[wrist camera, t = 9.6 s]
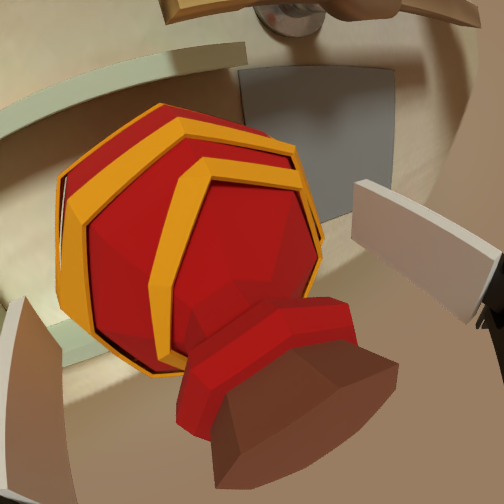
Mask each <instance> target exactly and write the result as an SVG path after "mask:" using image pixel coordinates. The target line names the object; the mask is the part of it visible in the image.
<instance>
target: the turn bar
mask: <svg viewBox="0 0 504 504" xmlns="http://www.w3.org/2000/svg"><path fill="white" fill-rule="evenodd" d="M304 3H316V4H319V5H320V6H321V7H322V8H323V9H324V10H325V11H326V12H327V13H328V14H330V15H331V16H333V17H334V18H336V19H339V20H341V21H347V22H352V21H361V20H373V19H388V18H392V17H394V16H395V15H396V14H397V13H398V12H399V11H401V12H407V13H412V14H417V15H421V16H426V17H430V18H434V19H438V20H442V21H445V22H449V23H452V24H456V25H459V26H467V27H475V28H481V23H480V18H479V12H478V7H477V6H475V5H474V4H472V3H470V2H468V1H466V0H159V4H160V7H161V11H162V14H163V18H164V21H165V25H169V24H173V23H176V22H180V21H185V20H189V19H193V18H198V17H203V16H208V15H213V14H219V13H225V12H231V11H238V10H240V9H242V8H244V7H252V6H263V5H276V4H304Z"/></svg>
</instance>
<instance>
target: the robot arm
mask: <svg viewBox="0 0 504 504" xmlns="http://www.w3.org/2000/svg"><path fill="white" fill-rule="evenodd" d="M351 239H352V240H353V241H355V242H356V243H358V244H359V245H361V246H362V247H364V248H365V249H366V250H368V251H369V252H371V253H372V254H374V255H375V256H376V257H378V258H379V259H381V260H382V261H383V262H385V263H386V264H388V265H389V266H390V267H392V268H393V269H394V270H396V271H397V272H399V273H400V274H402V275H403V276H404V277H405V278H407V279H408V280H409V281H411V282H412V283H413V284H415V285H416V286H417V287H419V288H420V289H421V290H423V291H424V292H425V293H427V294H428V295H429V296H430V297H432V298H433V299H434V300H435V301H437V302H438V303H439V304H441V305H442V306H443V307H444V308H446V309H447V310H448V311H449V312H451V313H452V314H453V315H454V316H456V317H457V318H458V319H459V320H460V321H462V322H463V323H464V324H465V325H466V324H467V323H468V322H469V321H470V320H471V319H472V318H473V317H474V316H475V315H476V313H477V311H478V309H479V307H480V305H481V302H483V303H484V304H485V306H484V308H483V310H482V312H481V314H480V316H479V318H478V320H477V322H476V329H479V327H480V325H481V323H482V321H483V320H484V319H485V321H484V323H483V325H482V329H489V332H490V335H491V338H492V341H493V345H494V348H495V352H496V355H497V359H498V362H499V366H500V370H501V374H502V379H503V383H504V254H503V253H502V252H501V251H500V250H498V249H497V248H495V247H494V246H492V245H490V244H489V243H487V242H486V241H484V240H482V239H481V238H479V237H478V236H476V235H474V234H473V233H471V232H469V231H467V230H466V229H464V228H462V227H461V226H459V225H457V224H455V223H454V222H452V221H450V220H448V219H446V218H445V217H443V216H441V215H439V214H437V213H436V212H433V211H432V210H430V209H428V208H426V207H424V206H422V205H420V204H418V203H416V202H414V201H412V200H410V199H408V198H406V197H404V196H402V195H400V194H398V193H396V192H394V191H392V190H390V189H388V188H386V187H383V186H381V185H379V184H377V183H375V182H372V181H370V180H368V179H365V180H361V181H357V182H354V196H353V216H352V232H351ZM0 504H78V503H77V499H76V495H75V490H74V485H73V481H72V475H71V469H70V464H69V457H68V450H67V443H66V433H65V423H64V410H63V389H62V348H61V347H60V345H59V344H58V343H57V341H56V340H55V339H54V337H53V336H52V335H51V333H50V332H49V331H48V329H47V328H46V326H45V325H44V323H43V322H42V321H41V319H40V318H39V316H38V315H37V313H36V312H35V310H34V309H33V307H32V306H31V304H30V302H29V301H28V299H27V298H26V296H23V297H21V298H19V299H16V300H14V301H12V302H10V303H9V307H8V310H7V313H6V317H5V320H4V324H3V328H2V332H1V336H0Z"/></svg>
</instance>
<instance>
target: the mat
mask: <svg viewBox="0 0 504 504" xmlns="http://www.w3.org/2000/svg"><path fill="white" fill-rule="evenodd" d="M238 75H239V83H240V91H241V99H242V107H243V114H244V122H245V126H247V127H250V128H253V129H257V130H260V131H263V132H264V133H266V134H267V135H269V136H270V137H272V138H274V139H276V140H278V141H282V142H285V143H288V144H292V145H295V146H296V149H297V152H298V155H299V157H300V160H301V163H302V166H303V169H304V172H305V175H306V178H307V181H308V184H309V188H310V191H311V194H312V197H313V200H314V203H315V207H316V210H317V213H318V216H319V220H320V223H322V222H325V221H327V220H330V219H333V218H335V217H338V216H341V215H343V214H346V213H349V212H352V211H353V196H354V182H357V181H361V180H365V179H368V180H370V181H372V182H375V183H377V184H379V185H381V186H383V187H386V188H388V189H390V190H391V182H392V169H393V154H394V132H395V80H394V70H388V69H378V68H366V67H350V66H283V67H267V68H255V69H245V70H238ZM314 224H315V223H314Z"/></svg>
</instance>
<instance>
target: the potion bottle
mask: <svg viewBox="0 0 504 504" xmlns="http://www.w3.org/2000/svg"><path fill="white" fill-rule="evenodd" d="M66 177H67V181H66V189H65V198H64V208H63V221H62V239H61V273H60V256H59V239H60V223H61V210H62V200H63V192H64V184H65V178H66ZM314 223H315V224H314ZM324 239H325V237H324V233H323V230H322V227H321V223H320V220H319V216H318V213H317V210H316V207H315V203H314V200H313V197H312V194H311V191H310V188H309V184H308V181H307V178H306V175H305V172H304V169H303V166H302V163H301V160H300V157H299V155H298V152H297V149H296V146H295V145H292V144H288V143H285V142H282V141H278V140H276V139H274V138H272V137H270V136H269V135H267V134H266V133H264V132H263V131H260V130H257V129H253V128H250V127H247V126H244V125H241V124H237V123H234V122H231V121H227V120H224V119H220V118H217V117H213V116H210V115H206V114H203V113H199V112H195V111H191V110H188V109H184V108H180V107H176V106H171V105H167V104H163V103H158V104H157V105H155V106H154V107H152V108H150V109H149V110H147V111H145V112H144V113H142V114H141V115H139V116H138V117H136V118H134V119H133V120H131V121H130V122H128V123H127V124H125V125H124V126H123V127H121V128H120V129H118V130H117V131H115V132H114V133H112V134H111V135H110V136H108V137H107V138H105V139H104V140H103V141H101V142H100V143H99V144H97V145H96V146H95V147H93V148H92V149H91V150H89V151H88V152H87V153H86V154H84V155H83V156H82V157H80V158H79V159H78V160H77V161H76V162H74V163H73V164H72V165H71V166H69V167H68V168H67V169H66V170H65V171H63V172H62V173H61V174H60V175H59V176H58V177H57V188H56V211H55V243H56V294H57V298H58V302H59V305H60V309H61V310H62V311H64V312H65V313H66V314H67V315H68V316H69V317H70V318H71V319H72V320H73V321H75V322H76V323H77V324H78V325H79V326H80V327H81V328H83V329H84V330H85V331H86V332H87V333H88V334H90V335H91V336H92V337H93V338H94V339H96V340H97V341H98V342H99V343H101V344H102V345H103V346H104V347H106V348H107V349H108V350H109V351H111V352H112V353H113V354H115V355H116V356H117V357H119V358H120V359H122V360H123V361H125V362H126V363H128V364H129V365H131V366H133V367H134V368H136V369H137V370H139V371H141V372H142V373H144V374H146V375H147V376H149V377H151V378H162V377H174V376H183V378H182V383H181V386H180V391H179V395H178V399H177V403H176V423H177V424H178V425H179V426H181V427H182V428H184V429H185V430H186V431H188V432H189V433H191V434H192V435H194V436H196V437H199V438H202V439H205V440H207V441H210V442H211V448H212V459H213V470H214V480H215V488H216V489H253V488H256V487H259V486H262V485H265V484H267V483H270V482H273V481H275V480H278V479H280V478H283V477H285V476H288V475H290V474H292V473H295V472H297V471H299V470H302V469H304V468H306V467H307V466H309V465H311V464H312V463H314V462H315V461H317V460H318V459H320V458H321V457H323V456H324V455H326V454H327V453H329V452H330V451H332V450H333V449H335V448H336V447H338V446H339V445H340V444H342V443H343V442H344V441H346V440H347V439H348V438H350V437H351V436H352V435H354V434H355V433H356V432H358V431H359V430H360V429H361V428H362V427H363V426H364V425H365V424H366V423H367V421H368V420H369V419H370V418H371V417H372V416H373V415H374V414H375V413H376V412H377V411H378V409H379V408H380V407H381V406H382V405H383V404H384V403H385V401H386V400H387V399H388V398H389V397H390V396H391V394H392V393H393V392H394V391H395V389H396V383H397V375H398V367H399V364H398V363H396V362H394V361H391V360H389V359H386V358H384V357H382V356H379V355H377V354H375V353H372V352H370V351H368V350H366V349H363V348H361V347H359V346H358V344H357V339H356V334H355V330H354V325H353V322H352V317H351V313H350V309H349V305H348V304H347V303H345V302H342V301H339V300H336V299H333V298H331V297H313V298H307V296H308V294H309V291H310V289H311V286H312V284H313V282H314V279H315V276H316V274H317V271H318V269H319V266H320V264H321V261H322V259H323V257H322V250H321V246H322V243H323V241H324Z"/></svg>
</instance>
